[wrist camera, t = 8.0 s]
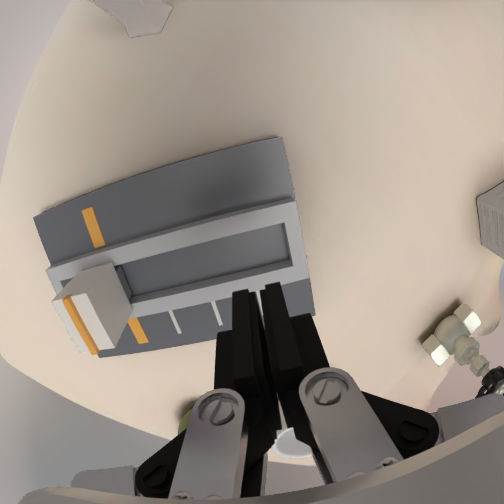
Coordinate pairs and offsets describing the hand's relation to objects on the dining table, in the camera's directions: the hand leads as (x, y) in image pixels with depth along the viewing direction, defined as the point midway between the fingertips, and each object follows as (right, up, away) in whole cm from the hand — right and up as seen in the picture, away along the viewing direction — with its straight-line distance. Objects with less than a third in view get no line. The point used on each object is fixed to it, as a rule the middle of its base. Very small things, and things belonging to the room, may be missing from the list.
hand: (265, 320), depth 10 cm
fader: (-11, 0, +10) cm, 15 cm away
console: (-7, +2, +12) cm, 14 cm away
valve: (+21, -6, +17) cm, 28 cm away
